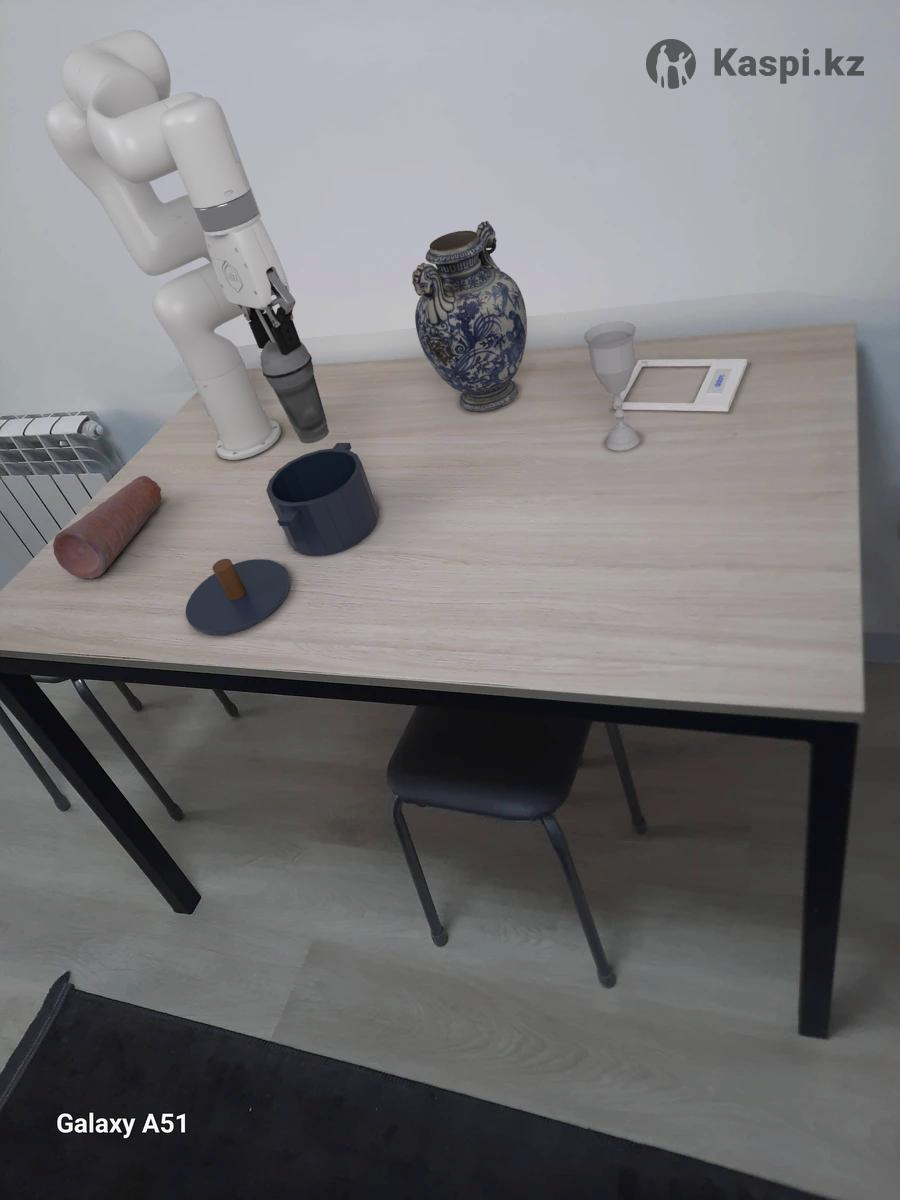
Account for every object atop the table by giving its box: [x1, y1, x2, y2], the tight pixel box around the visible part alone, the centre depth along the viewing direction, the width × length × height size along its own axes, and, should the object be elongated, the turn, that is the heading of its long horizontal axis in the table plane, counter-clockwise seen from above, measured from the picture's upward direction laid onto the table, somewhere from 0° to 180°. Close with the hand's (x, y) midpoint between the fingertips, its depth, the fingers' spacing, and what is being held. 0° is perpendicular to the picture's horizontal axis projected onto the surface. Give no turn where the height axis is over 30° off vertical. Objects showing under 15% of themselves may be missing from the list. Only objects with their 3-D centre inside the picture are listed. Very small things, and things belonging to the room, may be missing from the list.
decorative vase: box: [411, 220, 528, 413], centre depth 144 cm, size 21×19×28 cm
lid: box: [185, 558, 291, 636], centre depth 123 cm, size 16×16×7 cm
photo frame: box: [613, 358, 748, 413], centre depth 139 cm, size 15×1×18 cm
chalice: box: [583, 320, 641, 452], centre depth 126 cm, size 7×7×18 cm
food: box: [52, 475, 162, 580], centre depth 143 cm, size 21×9×9 cm, turn 166°
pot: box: [265, 442, 380, 557], centre depth 130 cm, size 15×20×10 cm
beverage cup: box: [255, 309, 330, 444], centre depth 121 cm, size 7×7×20 cm
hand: (279, 345), depth 118 cm, fingers closed on beverage cup, 4 cm apart
